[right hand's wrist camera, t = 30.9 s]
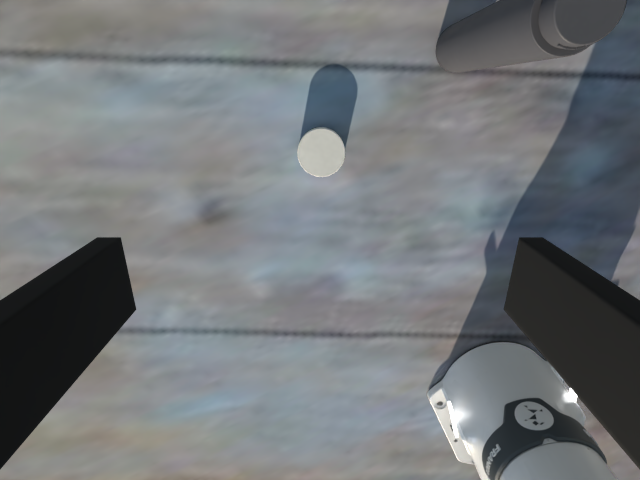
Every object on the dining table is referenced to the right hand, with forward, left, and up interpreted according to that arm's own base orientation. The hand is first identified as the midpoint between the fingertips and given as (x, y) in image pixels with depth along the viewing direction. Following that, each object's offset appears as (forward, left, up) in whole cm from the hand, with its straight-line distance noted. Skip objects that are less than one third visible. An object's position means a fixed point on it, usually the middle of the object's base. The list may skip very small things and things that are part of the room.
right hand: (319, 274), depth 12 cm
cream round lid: (0, 0, -29) cm, 29 cm away
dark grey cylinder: (-3, +17, -30) cm, 35 cm away
